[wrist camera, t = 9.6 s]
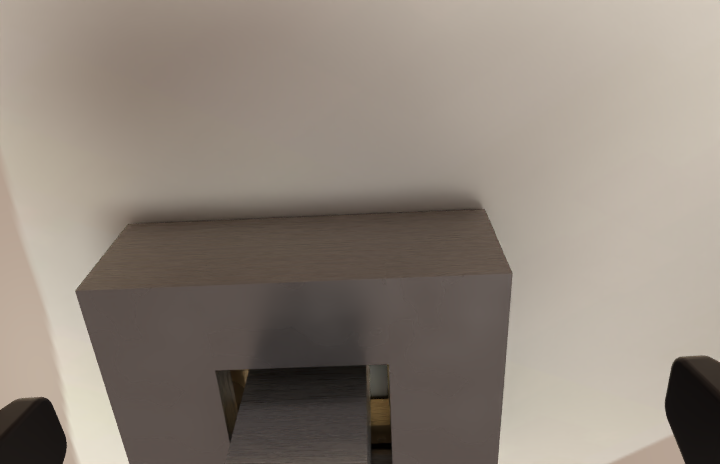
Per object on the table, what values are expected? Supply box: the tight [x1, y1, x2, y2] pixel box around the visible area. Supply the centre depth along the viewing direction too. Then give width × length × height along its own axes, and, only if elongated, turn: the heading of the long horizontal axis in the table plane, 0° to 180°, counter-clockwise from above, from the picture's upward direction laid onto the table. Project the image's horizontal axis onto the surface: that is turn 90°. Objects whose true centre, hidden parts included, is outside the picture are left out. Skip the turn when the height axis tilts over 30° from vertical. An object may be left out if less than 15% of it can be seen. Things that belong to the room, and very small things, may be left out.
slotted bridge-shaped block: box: [75, 209, 512, 464], centre depth 22 cm, size 13×12×4 cm
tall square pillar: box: [225, 365, 372, 464], centre depth 20 cm, size 4×4×11 cm
